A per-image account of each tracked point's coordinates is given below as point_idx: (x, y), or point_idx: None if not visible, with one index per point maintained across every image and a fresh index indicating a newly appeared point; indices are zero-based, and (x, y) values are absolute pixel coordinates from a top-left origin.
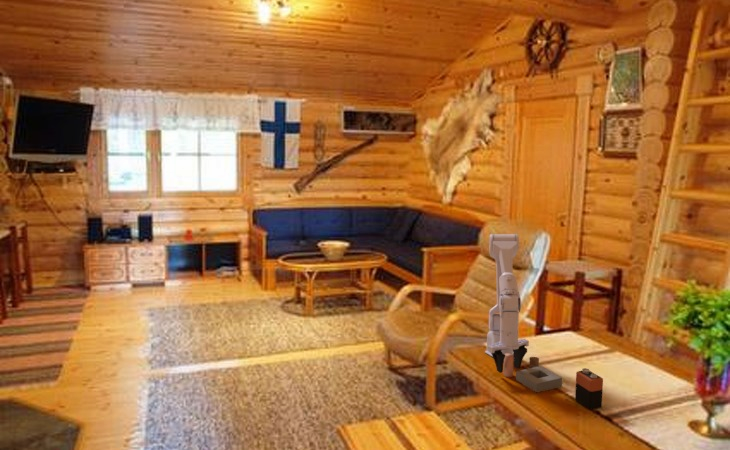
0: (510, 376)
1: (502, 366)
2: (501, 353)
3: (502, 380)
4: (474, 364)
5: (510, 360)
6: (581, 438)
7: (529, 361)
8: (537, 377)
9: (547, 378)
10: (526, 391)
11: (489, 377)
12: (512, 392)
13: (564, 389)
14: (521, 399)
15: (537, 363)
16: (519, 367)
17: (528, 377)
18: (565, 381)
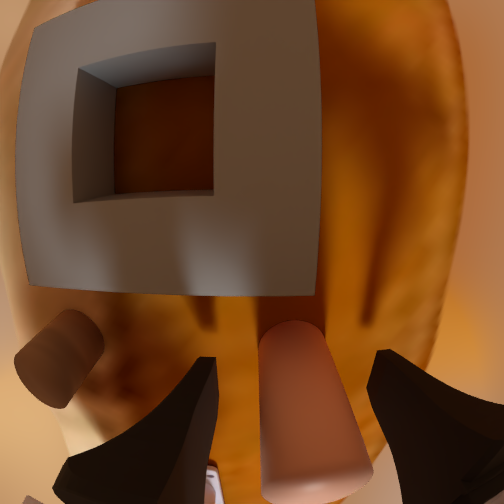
0: (300, 322)
1: (412, 375)
2: (488, 468)
3: (385, 296)
4: None
5: (336, 424)
6: None
7: (78, 386)
8: (124, 195)
9: (133, 19)
10: (352, 66)
11: (410, 356)
12: (440, 113)
13: None
14: (433, 27)
15: (39, 337)
16: (200, 362)
17: (300, 97)
18: (14, 115)
